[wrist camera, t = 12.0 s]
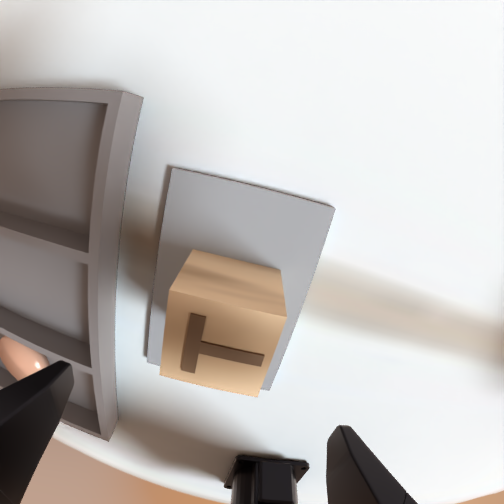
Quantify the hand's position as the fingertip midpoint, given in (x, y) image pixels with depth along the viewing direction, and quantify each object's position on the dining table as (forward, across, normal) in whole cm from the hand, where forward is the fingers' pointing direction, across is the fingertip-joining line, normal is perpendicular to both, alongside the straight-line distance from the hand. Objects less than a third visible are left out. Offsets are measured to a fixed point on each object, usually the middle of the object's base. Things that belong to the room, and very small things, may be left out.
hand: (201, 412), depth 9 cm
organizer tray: (+8, +14, +3) cm, 17 cm away
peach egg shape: (+8, +14, +10) cm, 19 cm away
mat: (+8, 0, 0) cm, 9 cm away
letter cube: (+8, 0, 0) cm, 8 cm away
